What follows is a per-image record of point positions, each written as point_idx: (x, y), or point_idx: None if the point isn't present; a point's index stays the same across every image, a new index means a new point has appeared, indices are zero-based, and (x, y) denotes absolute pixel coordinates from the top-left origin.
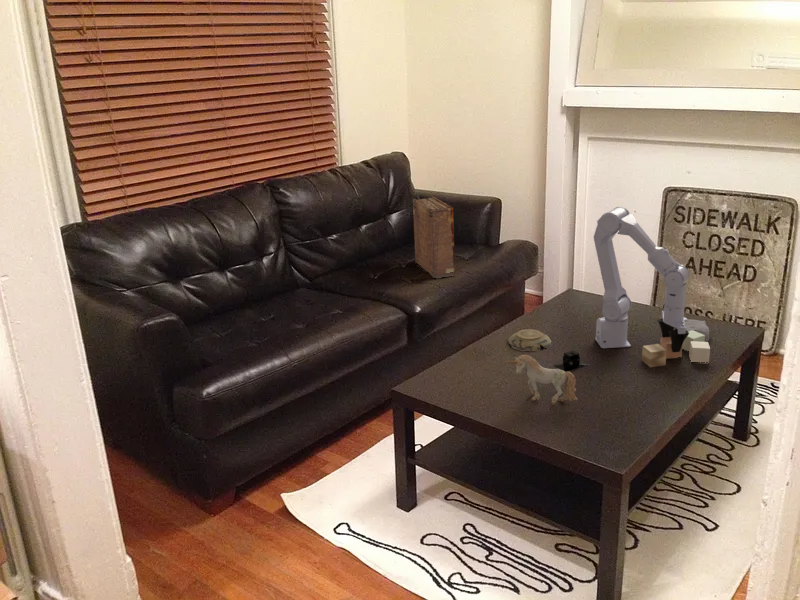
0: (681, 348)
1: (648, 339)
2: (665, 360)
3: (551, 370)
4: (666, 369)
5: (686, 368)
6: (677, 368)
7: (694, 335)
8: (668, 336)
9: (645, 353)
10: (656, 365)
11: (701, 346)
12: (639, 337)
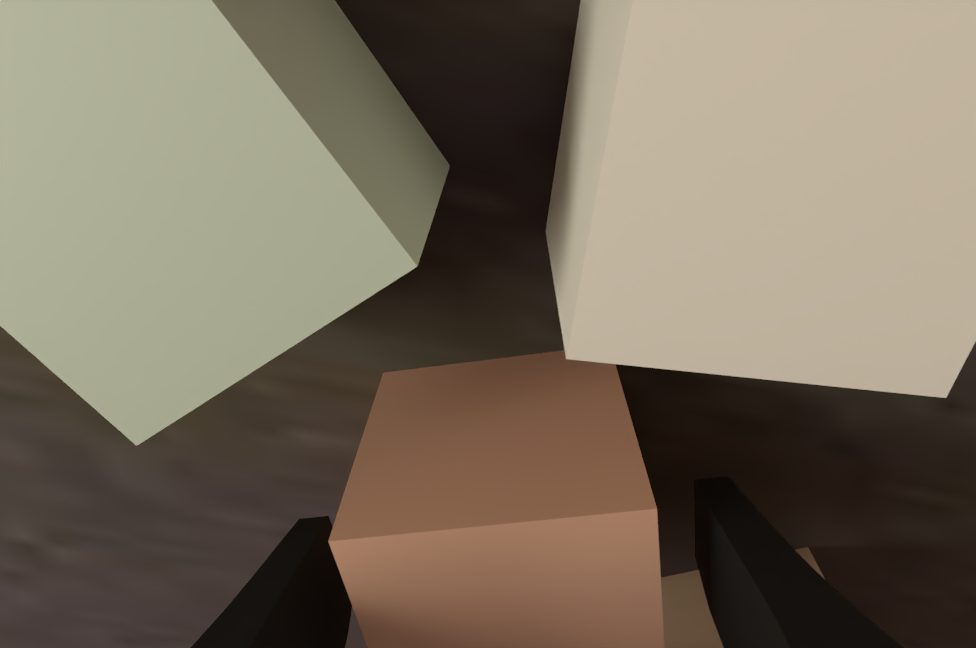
0: (638, 446)
1: (72, 573)
2: None
3: None
4: (925, 557)
5: (971, 357)
6: (935, 453)
7: (187, 187)
8: (306, 624)
9: None
10: None
11: (936, 182)
12: (44, 634)
